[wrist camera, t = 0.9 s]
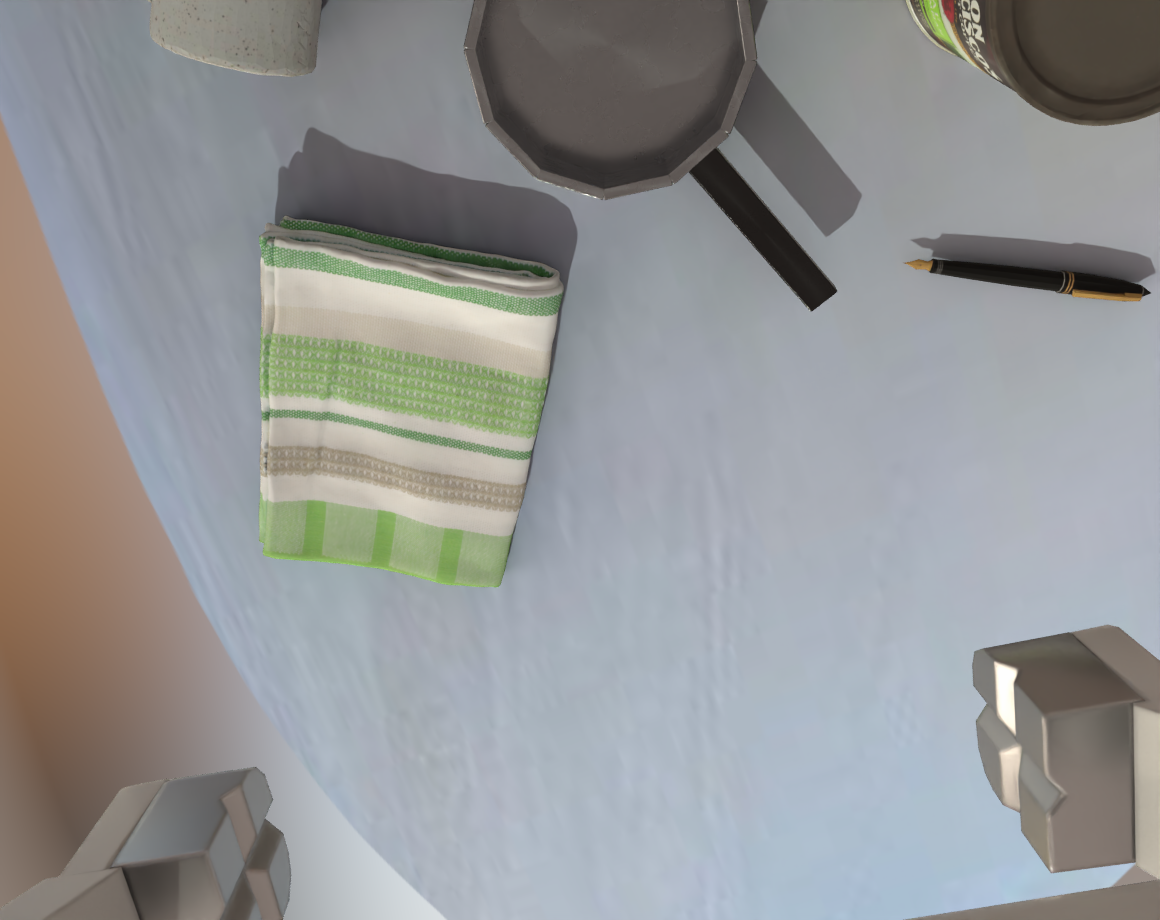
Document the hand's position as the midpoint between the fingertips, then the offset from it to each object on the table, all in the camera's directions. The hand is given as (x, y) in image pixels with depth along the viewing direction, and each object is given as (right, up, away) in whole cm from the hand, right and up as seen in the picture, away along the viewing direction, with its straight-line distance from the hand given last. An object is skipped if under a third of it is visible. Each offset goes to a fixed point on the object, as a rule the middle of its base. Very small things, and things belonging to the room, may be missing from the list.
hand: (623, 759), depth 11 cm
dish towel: (-12, +7, +52) cm, 54 cm away
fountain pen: (+25, +14, +46) cm, 54 cm away
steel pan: (+5, +21, +42) cm, 48 cm away
